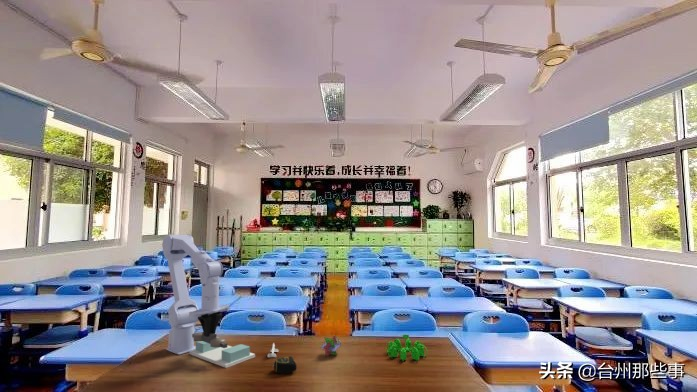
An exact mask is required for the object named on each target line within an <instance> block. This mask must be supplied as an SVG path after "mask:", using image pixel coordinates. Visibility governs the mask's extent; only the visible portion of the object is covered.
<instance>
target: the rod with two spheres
mask: <svg viewBox="0 0 697 392" xmlns="http://www.w3.org/2000/svg"><path fill="white" fill-rule="evenodd" d="M192 337H193V340H194V342H196V341H204V342H206V343H209V344H210V346H211V347H214V348H217V347H222V348H227V345H228V343H227V342H226V338H225V337H219V338H216V337H218V336H217V334H216V333H215V334H214V333H211V332H210V334H209V337H206V336H204V332H203V331H199V332H194V334H192ZM228 346H229V345H228Z"/></svg>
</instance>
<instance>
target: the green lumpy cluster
mask: <svg viewBox="0 0 697 392" xmlns="http://www.w3.org/2000/svg"><path fill="white" fill-rule="evenodd" d="M402 338H404V341H405V342H404V345H405V347H403V346H402V343H401V340H400V339H399V338H395V339H394V341H388V342H386V345H385V351H386V352H387V354H388V356H389V358H391V359H393V358H397V357H398V355H400V360H401V362H404V361H405V360H407V359H408V358H407V352H409V353H410V355H411V358H412V360H415V361H416V362H417V361H419V360H420V357H423V358H424V357H426V356H427V354H428V349H427V347H426V346H425V345H424V344H423V342H422V341H420V340H416V341H415V342H414V343H413V345H412V342H411V340H410V335H409V334H403V335H402ZM387 345H388V346H387ZM387 347H388V349H387ZM425 350H426V353H425Z"/></svg>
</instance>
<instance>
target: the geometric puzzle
mask: <svg viewBox="0 0 697 392" xmlns="http://www.w3.org/2000/svg"><path fill="white" fill-rule="evenodd" d="M330 337H331V336H328V337H327V336H326V337H325V336H324V338H323V339H324V341H322V343H323V344H322V345H321V346H320V349H321V350H322V351H325V352H324V354H325V357H326V358H327V357H330V355H335V356H338V349H339V348H341V346H342V343H341V340H340V338H339V337H338V336H336V335H333V336H332V337H331V338H330Z"/></svg>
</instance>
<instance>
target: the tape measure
mask: <svg viewBox="0 0 697 392" xmlns="http://www.w3.org/2000/svg"><path fill="white" fill-rule="evenodd" d="M274 360H275V362H274V365H273V369H274V371H275V373H277V374H283V375H284V374H289V373H292V372H296V371H297V363H296V362H295V359H294V358H293V356H291V355H290V356H281V357H278V358H277V357H276V359H274Z"/></svg>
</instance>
